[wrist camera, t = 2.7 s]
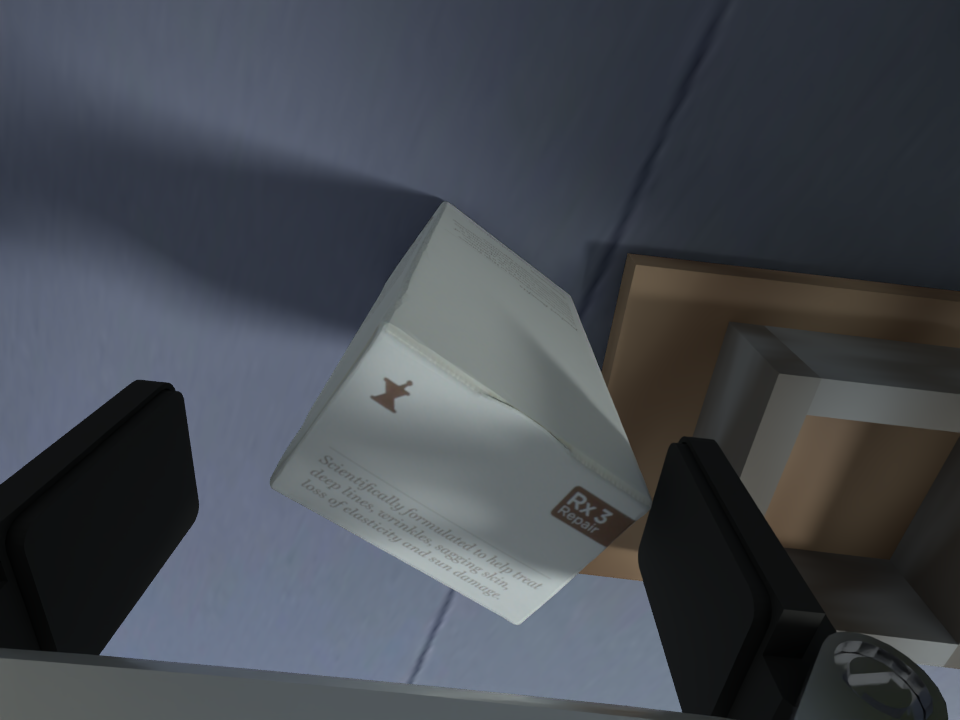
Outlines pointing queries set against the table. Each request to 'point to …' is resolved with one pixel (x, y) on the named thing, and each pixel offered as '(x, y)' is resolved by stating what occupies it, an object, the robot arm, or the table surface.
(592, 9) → the table surface
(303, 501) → the skincare box
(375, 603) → the table surface
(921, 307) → the socket
